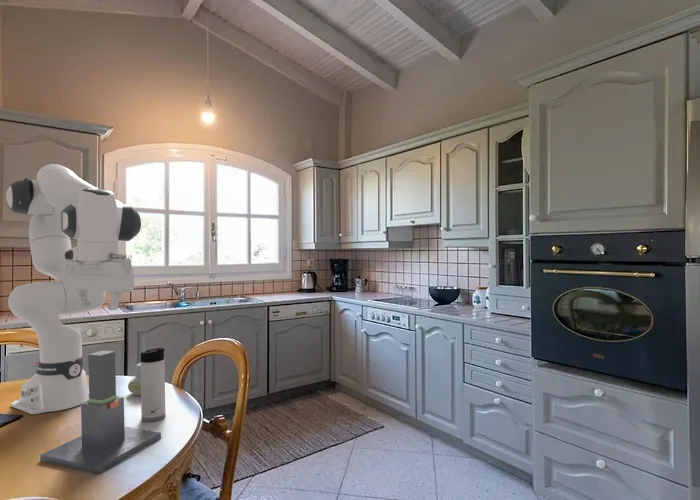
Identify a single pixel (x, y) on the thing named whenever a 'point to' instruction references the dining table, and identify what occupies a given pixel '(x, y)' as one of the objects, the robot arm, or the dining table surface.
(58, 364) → the robot arm
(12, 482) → the dining table surface
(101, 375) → the post
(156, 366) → the travel mug
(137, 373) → the air freshener
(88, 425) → the stand
